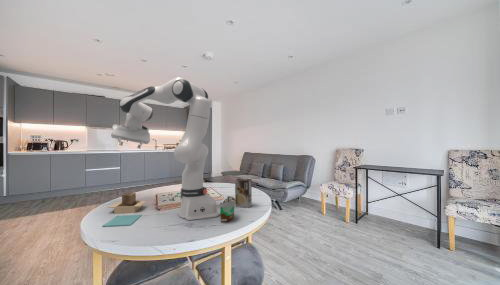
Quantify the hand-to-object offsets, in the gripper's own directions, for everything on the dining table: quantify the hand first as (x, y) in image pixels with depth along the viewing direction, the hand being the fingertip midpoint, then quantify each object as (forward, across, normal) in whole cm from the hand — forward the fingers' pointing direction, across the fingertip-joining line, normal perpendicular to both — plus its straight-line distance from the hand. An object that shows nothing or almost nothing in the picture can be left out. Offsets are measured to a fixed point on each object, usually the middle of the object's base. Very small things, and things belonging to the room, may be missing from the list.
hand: (130, 146), depth 113 cm
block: (+33, +6, +14) cm, 36 cm away
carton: (+33, +6, +14) cm, 36 cm away
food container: (+51, +42, -31) cm, 73 cm away
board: (+42, +2, +1) cm, 42 cm away
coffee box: (+42, +60, -22) cm, 77 cm away
